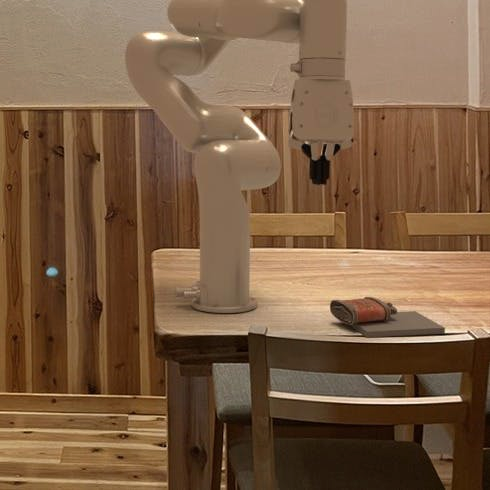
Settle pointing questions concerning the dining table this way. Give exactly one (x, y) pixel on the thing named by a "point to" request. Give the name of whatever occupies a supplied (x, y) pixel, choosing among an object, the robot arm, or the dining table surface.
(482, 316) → the dining table surface
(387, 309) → the lighter
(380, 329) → the mat
